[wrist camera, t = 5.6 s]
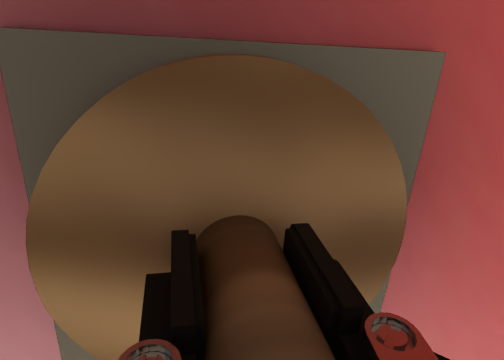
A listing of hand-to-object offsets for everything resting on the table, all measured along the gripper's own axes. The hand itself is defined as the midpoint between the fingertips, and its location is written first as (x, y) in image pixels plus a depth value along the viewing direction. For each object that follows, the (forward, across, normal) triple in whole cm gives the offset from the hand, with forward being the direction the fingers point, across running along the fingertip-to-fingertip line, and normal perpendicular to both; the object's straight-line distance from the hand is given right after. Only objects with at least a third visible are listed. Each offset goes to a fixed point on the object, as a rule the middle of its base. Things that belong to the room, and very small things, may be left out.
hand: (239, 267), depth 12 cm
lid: (+2, 0, 0) cm, 2 cm away
